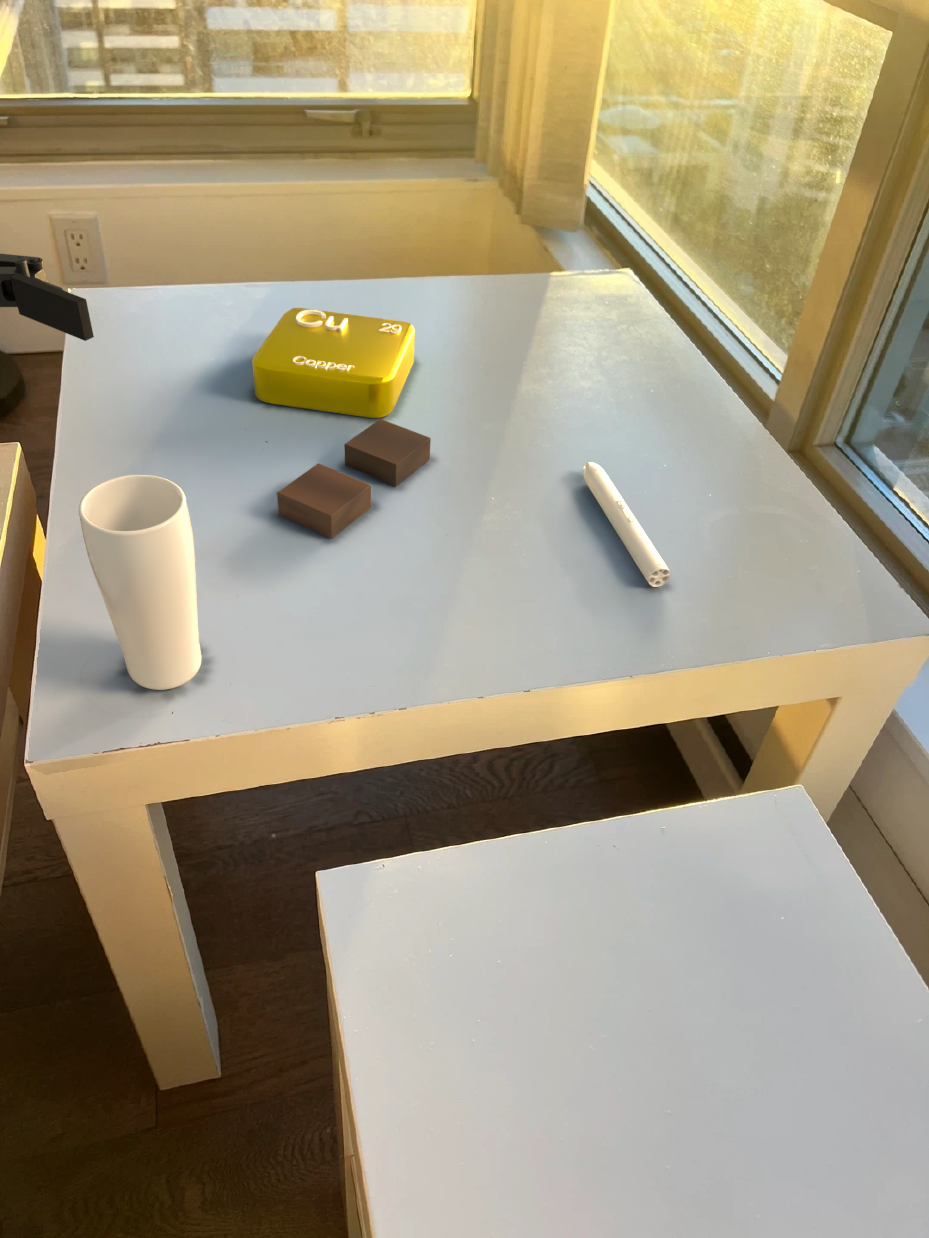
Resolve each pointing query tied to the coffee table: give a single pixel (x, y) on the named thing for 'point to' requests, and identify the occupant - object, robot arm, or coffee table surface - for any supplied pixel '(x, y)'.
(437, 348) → the coffee table surface
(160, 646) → the drinking glass
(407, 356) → the element tile
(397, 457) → the walnut block far
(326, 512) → the walnut block near
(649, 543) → the marker
